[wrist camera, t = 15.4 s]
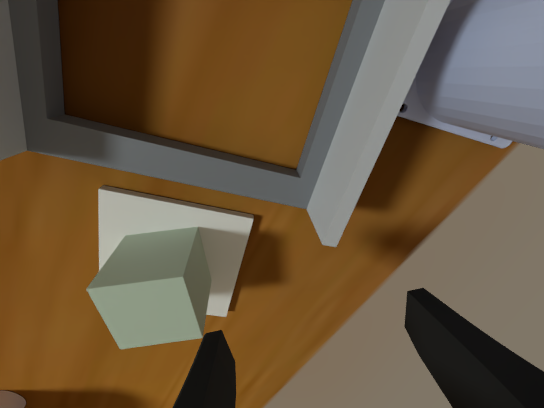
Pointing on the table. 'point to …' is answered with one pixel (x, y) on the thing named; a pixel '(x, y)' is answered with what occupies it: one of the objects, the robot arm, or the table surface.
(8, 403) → the smoothie
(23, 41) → the grey shallow open box
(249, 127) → the table surface
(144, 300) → the block
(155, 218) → the tile
